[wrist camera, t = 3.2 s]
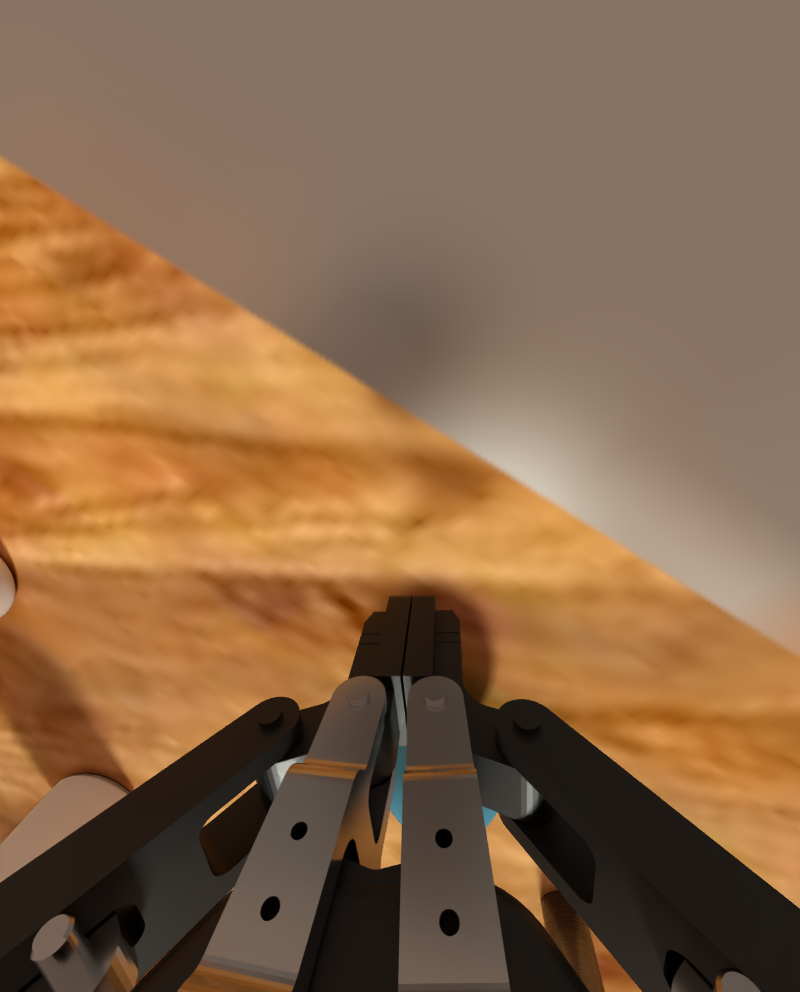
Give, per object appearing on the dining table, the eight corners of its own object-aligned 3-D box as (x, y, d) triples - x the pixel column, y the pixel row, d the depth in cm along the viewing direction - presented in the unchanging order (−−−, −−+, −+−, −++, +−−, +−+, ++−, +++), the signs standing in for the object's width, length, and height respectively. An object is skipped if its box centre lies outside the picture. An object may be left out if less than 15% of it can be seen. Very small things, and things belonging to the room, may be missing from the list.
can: (39, 781, 28) (-235, 1068, 17) (105, 759, 26) (-149, 1058, 15) (98, 842, 30) (-116, 1141, 18) (164, 825, 28) (-26, 1140, 17)
